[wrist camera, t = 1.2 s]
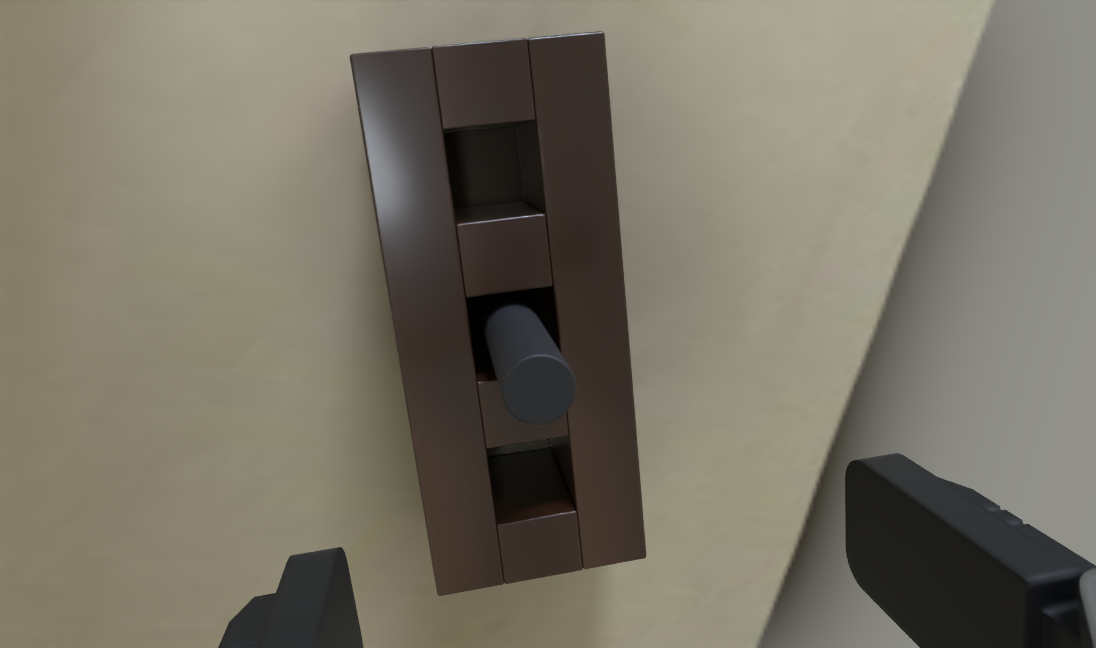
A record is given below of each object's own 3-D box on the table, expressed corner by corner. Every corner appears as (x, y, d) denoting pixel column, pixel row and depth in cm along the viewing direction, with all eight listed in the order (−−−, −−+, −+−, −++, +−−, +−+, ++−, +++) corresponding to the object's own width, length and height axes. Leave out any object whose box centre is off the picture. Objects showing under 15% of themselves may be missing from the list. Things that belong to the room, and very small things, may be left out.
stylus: (472, 280, 30) (497, 360, 19) (520, 274, 31) (573, 349, 19) (479, 326, 31) (507, 431, 19) (525, 319, 31) (580, 420, 20)
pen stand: (436, 518, 33) (437, 597, 27) (366, 73, 28) (349, 53, 22) (610, 488, 34) (647, 558, 28) (570, 54, 29) (604, 30, 23)
